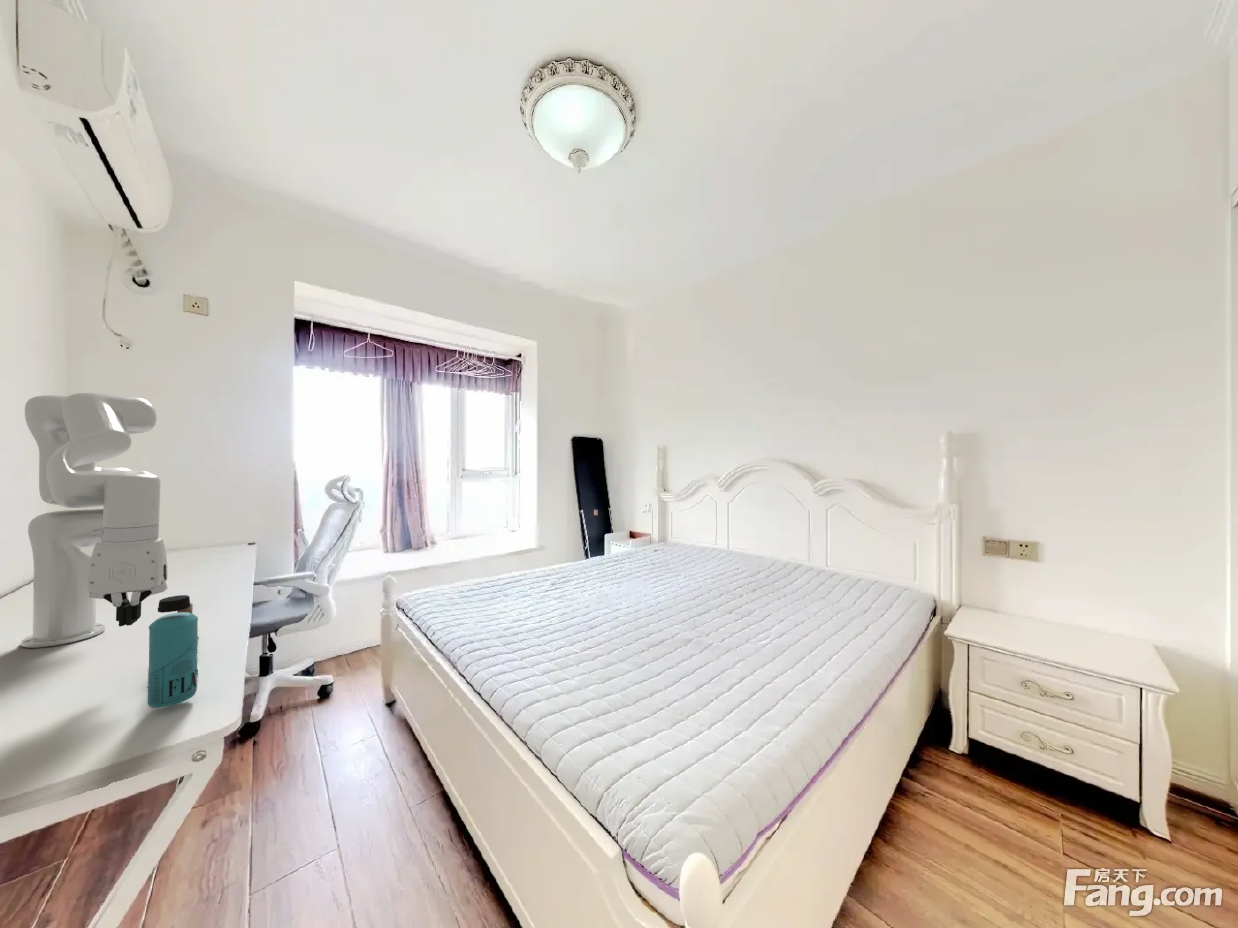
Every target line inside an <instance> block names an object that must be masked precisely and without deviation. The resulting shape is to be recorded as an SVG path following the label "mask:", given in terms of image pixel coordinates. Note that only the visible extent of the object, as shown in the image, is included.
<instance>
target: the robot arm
mask: <svg viewBox="0 0 1238 928" xmlns="http://www.w3.org/2000/svg"><path fill="white" fill-rule="evenodd" d="M157 416H158V415H157V412H156V410H155V407H154V406H153V405H152V403H151V402H150V401H148V400H147V399H145V398H141V397H134V396H126V395H116V394H107V393H100V392H99V393H96V392H78V393H77V392H76V393H73V394H70V395H55V394H53V395H52V394H49V395H45V394H44V395H38V396H33V397H30V399H28V400H27V402H25V405H24V418H25V423H26V425H27V428H28V429H29V432H30V433H31V435H32V437H33V439H34V440H35V442H36V445H37V447H38V452H39V453H38V454H39V455H38V467H39V468H38V476H39V477H38V487H39V488H38V490H39V495H40V499H41V500H42V501H43V503H44V502H45V503H46V504H49V505H54V506H61V507H64V508H68V510H67V509H66V510H55V511H49V512H46V513H42V514H40V515H37V516H35V517H34V518H32V519H31V521H30V522H29V523H28V526H27V527H28V528H27V532H28V539H29V542H30V546H31V550H32V560H33V589H32V590H33V594H32V596H33V598H32V599H33V601H32V602H33V603H32V604H33V605H32V606H33V607H32V635H29V636H26V637H25V638H23V639H22V640H21V643H20V646H21V647H23V648H31V649H32V648H35V649H36V648H45V647H46V648H48V647H54V646H60V645H65V644H66V645H67V644H69V643H74V642H78V641H82V640H86V639H90V638H93V637H96V636H97V635H100V634H101V633H103V632H104V631H105V630H106V626H105V624H103V623H96V620H97V619H96V618H97V599H98V600H99V599H100V600H103V599H104V600H105V601H107V602H108V603H110V604H112V606H113V607H115V609H116V610H115V611H116V612H115V621H116V622H118V627H124V626H127V627H128V626H132V625H133V624H134V623H136V622H137V621H138V620H139V619H140V618H141V617H142V602H143V601H144V600H146V599H147V598H148V597H150V596H154V595H157V594H161V593H164V592H165V591H166V590H168V585H167V579H168V558H167V552H166V546H165V543H164V539H163V538H161V537H159V536H160V535H159V534H160V533H159V532H160V508H161V507H160V505H161V480H160V477H159V476H158V475H156V474H153V473H151V472H149V471H146V470H132V469H130V468H127V467H122V466H121V467H120V466H97V465H96V463H98V462H101V461H106V460H110V459H113V458H116V457H118V456H120V455H122V454H124V453H126V452H127V451H128V450H129V449H130V448H131V446H132V439H131V436H130V435H133V434H134V435H135V434H141V433H142V434H143V433H148V432H150V431H151V430H152V429H154V428H155V425H156V423H157ZM99 507H100V508H99ZM101 507H102V508H101ZM81 508H82V509H81ZM85 508H86V509H85ZM88 508H92V509H88ZM93 508H94V509H93ZM69 509H70V510H69ZM89 547H93V549H92V553H91V556H89V555H88V554H86V553H84V552H83V551H82V550H81V549H83V548H89ZM128 593H131V598H130V600H129V596H128V595H129V594H128Z"/></svg>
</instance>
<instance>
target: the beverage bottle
mask: <svg viewBox="0 0 1238 928" xmlns="http://www.w3.org/2000/svg"><path fill="white" fill-rule="evenodd" d="M190 603H191V599H190V596H189V595H187V594H181V595H180V594H179V595H173V596H172V595H171V596H168V597H164V598H161V599H159V601H158V605H157V606H158V607H157V612H158V613H169V614H165V615H162V616H160V617H158V618H157V619H156V620H154V621H153V622H152V623H151V624H149V626H148V630H149V631H148V632H149V633H148V635H149V636H148V648H149V649H148V667H147V668H148V669H147V673H148V674H147V676H146V677H147V686H146V689H147V695H146V697H147V704H148V707H150V708H153V709H159V708H161V709H162V708H167V707H172V706H174V705H177V704H181V703H183V702H185V701H188V700H189V699H191V698H193V697H194V696H195V695H196V693H197V690H198V688H199V687H198V683H199V680H198V675H199V669H198V663H199V657H198V654H199V649H198V645H199V642H198V640H200V639H199V634H198V632H199V631H198V630H199V629H198V620H199V617H198V616H197V615H195V614H194V613H193V612H192V613H189V612H180V613H177V611H179V610H183V609H186V608H189V607H190Z"/></svg>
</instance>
